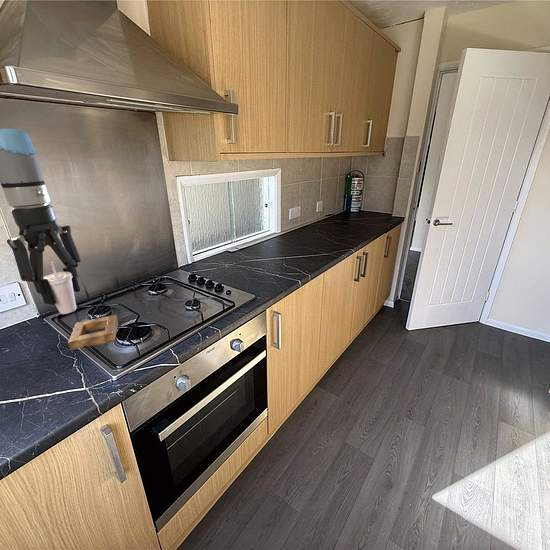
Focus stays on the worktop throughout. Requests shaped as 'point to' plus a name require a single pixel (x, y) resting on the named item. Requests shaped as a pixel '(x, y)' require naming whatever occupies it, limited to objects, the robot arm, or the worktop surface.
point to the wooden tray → (92, 339)
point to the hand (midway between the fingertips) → (63, 296)
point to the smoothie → (62, 290)
